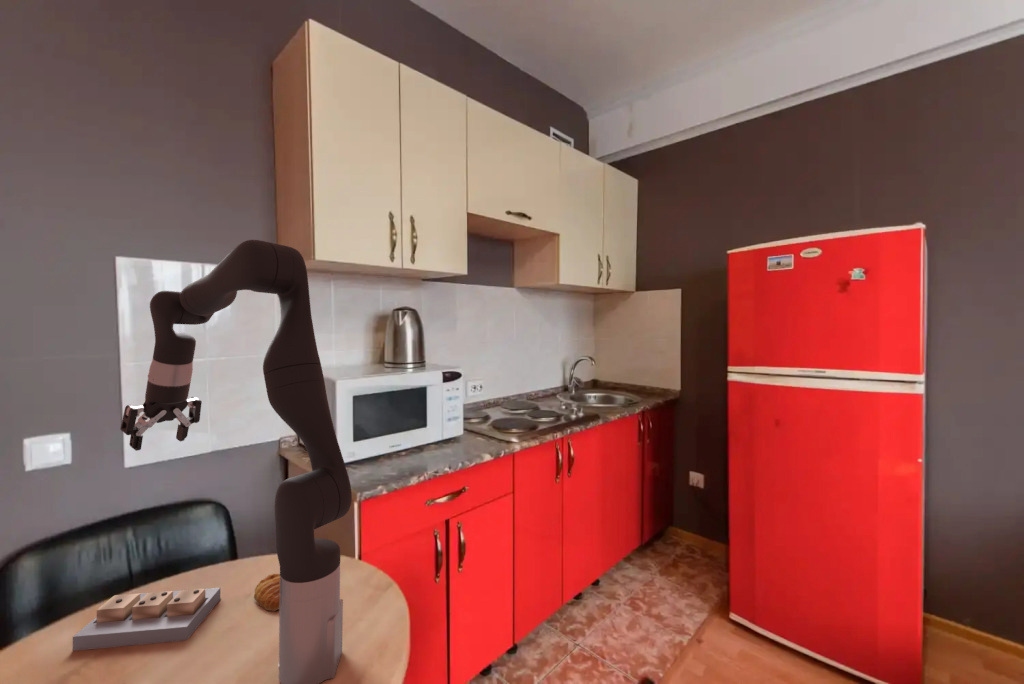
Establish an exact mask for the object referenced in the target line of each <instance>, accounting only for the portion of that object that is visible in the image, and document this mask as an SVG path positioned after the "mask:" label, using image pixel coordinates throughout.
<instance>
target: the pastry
mask: <svg viewBox="0 0 1024 684" xmlns="http://www.w3.org/2000/svg"><path fill="white" fill-rule="evenodd" d="M253 598H254V600H255V602H256V603H257V604H258V605H259V606H260V607H261V608H263V609H264V610H266V611H270V612H275V611H277V610H279V605H280V573H272V574H269V575H267V576H266V577H264V578H263V579H261V580H260V581H259V582H258V583H257V585H256V586H255V588H254V594H253Z"/></svg>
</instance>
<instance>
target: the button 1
mask: <svg viewBox="0 0 1024 684" xmlns="http://www.w3.org/2000/svg"><path fill="white" fill-rule="evenodd" d="M140 594H141V593H140V592H139V593H127V594H115V595H113V596H112V597H111V598H110V599H108V600H107V601H105V602H104V603H103V604H102V605H101V606H99V607H98V608H97V609H96V617H97V623H102V622H114V621H124V620H125V619H126V618H127V617H129V616H130V615H131V614H132V607H133V606H134V605H135V604H136V603H137V602H138V601H140Z"/></svg>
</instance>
